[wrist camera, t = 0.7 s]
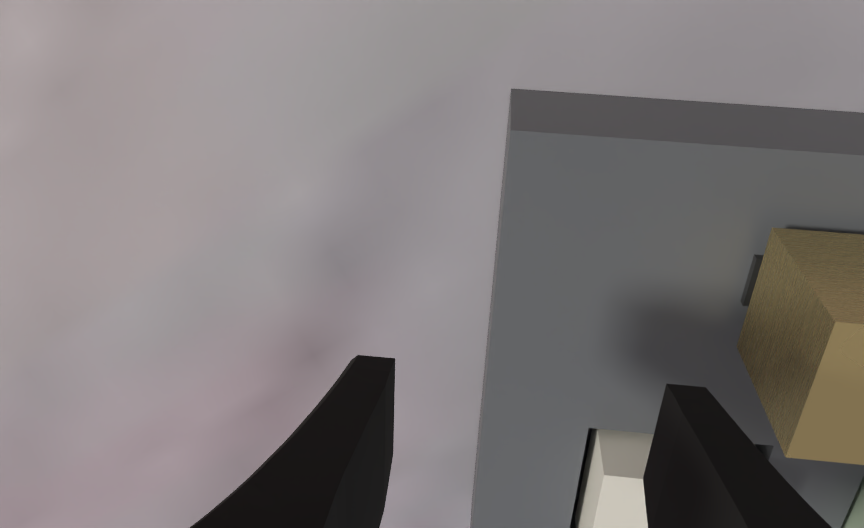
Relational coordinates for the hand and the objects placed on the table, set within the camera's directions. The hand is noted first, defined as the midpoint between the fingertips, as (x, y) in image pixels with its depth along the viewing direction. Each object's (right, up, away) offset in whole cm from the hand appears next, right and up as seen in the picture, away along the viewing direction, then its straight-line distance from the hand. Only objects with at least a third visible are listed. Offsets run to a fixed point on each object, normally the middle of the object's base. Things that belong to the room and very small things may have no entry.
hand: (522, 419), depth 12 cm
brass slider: (+7, +2, +4) cm, 8 cm away
